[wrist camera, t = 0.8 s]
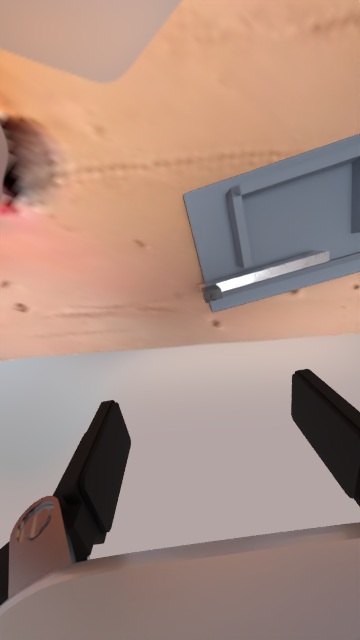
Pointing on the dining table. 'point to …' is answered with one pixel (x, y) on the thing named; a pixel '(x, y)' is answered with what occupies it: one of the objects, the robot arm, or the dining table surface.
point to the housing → (280, 221)
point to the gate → (261, 274)
